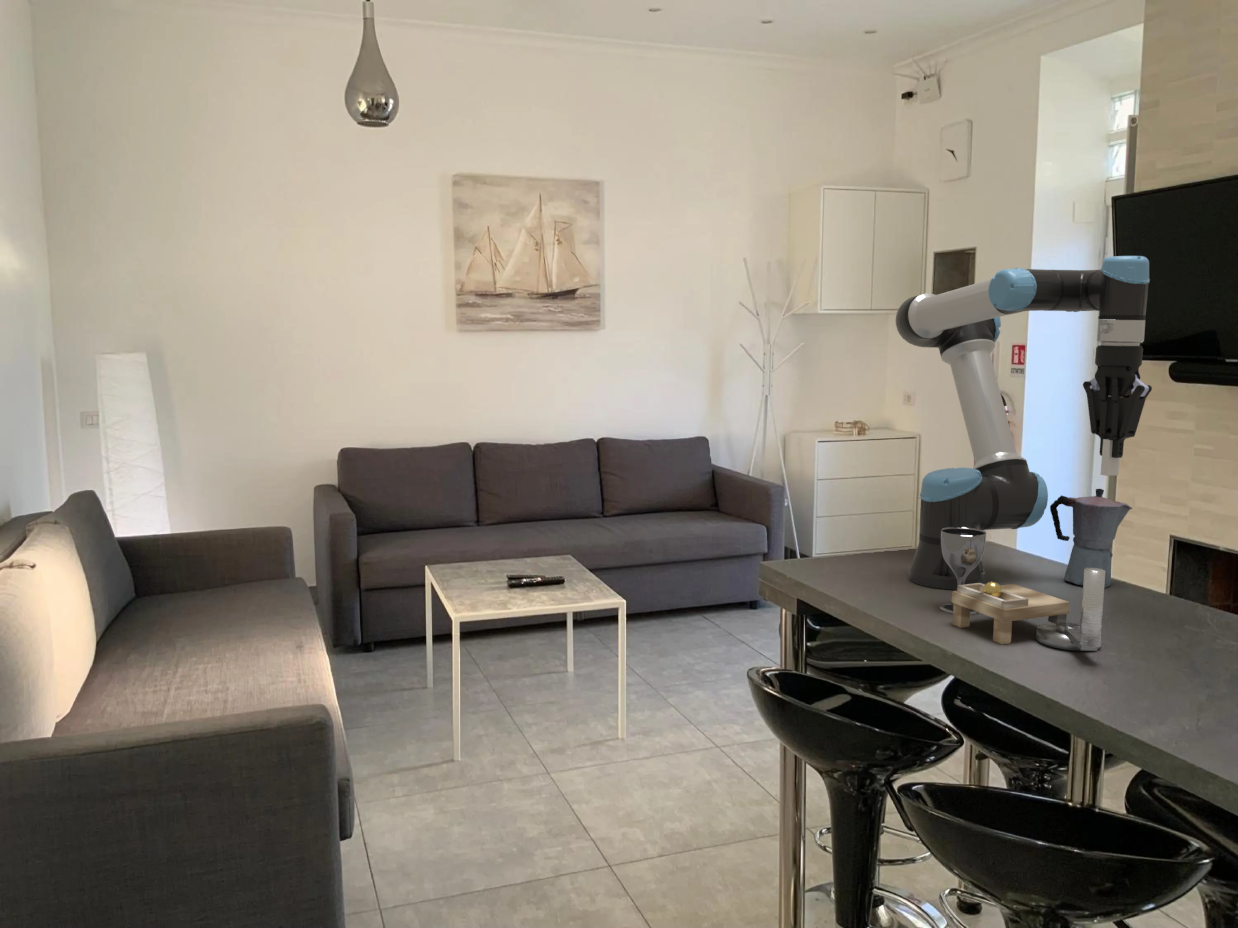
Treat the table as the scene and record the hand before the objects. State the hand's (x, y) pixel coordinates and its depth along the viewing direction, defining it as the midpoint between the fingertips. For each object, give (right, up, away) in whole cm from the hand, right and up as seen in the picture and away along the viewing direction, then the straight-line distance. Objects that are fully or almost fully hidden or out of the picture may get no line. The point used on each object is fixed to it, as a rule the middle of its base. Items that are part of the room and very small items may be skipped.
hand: (1109, 474), depth 180 cm
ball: (-25, -20, -9) cm, 33 cm away
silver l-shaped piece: (-14, -28, -17) cm, 36 cm away
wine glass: (-25, -26, +6) cm, 36 cm away
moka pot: (+8, -23, +26) cm, 36 cm away
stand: (-21, -27, -6) cm, 35 cm away
